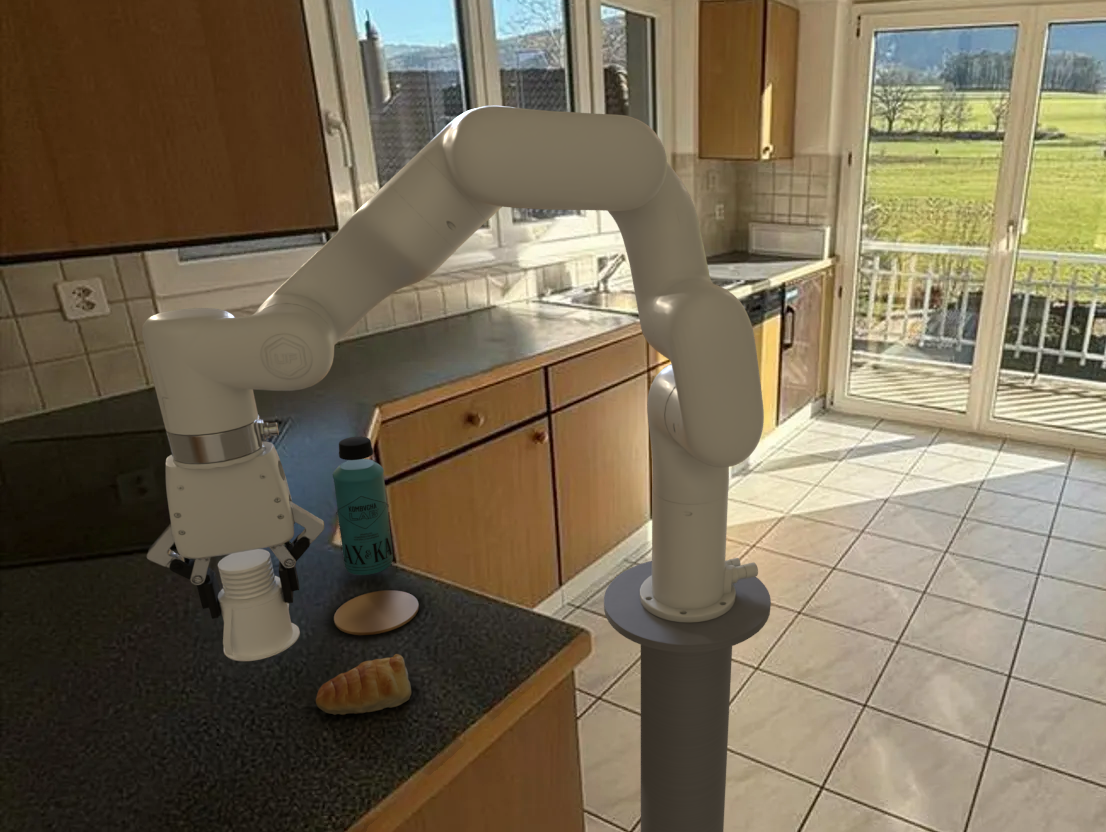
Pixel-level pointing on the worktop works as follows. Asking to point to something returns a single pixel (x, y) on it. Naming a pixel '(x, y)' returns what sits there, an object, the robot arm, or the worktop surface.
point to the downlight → (253, 607)
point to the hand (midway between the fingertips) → (253, 602)
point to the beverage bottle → (362, 509)
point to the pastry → (366, 687)
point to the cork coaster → (376, 612)
